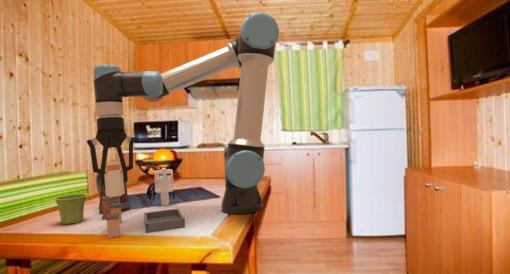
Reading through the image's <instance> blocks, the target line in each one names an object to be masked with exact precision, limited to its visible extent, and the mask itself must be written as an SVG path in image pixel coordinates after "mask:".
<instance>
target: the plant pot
mask: <svg viewBox="0 0 510 274" xmlns="http://www.w3.org/2000/svg"><path fill="white" fill-rule="evenodd" d="M87 195H88V194H87V193H76V194H75V193H74V194H65V195H61V196H57V197H55V198H54V201H55V203H56V205H57V209H58V213H59V216H60V222H61V225H69V224H77V223H80V222H82V221H83V220H84V213H85V212H84V209H85V201H86V198H87Z"/></svg>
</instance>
